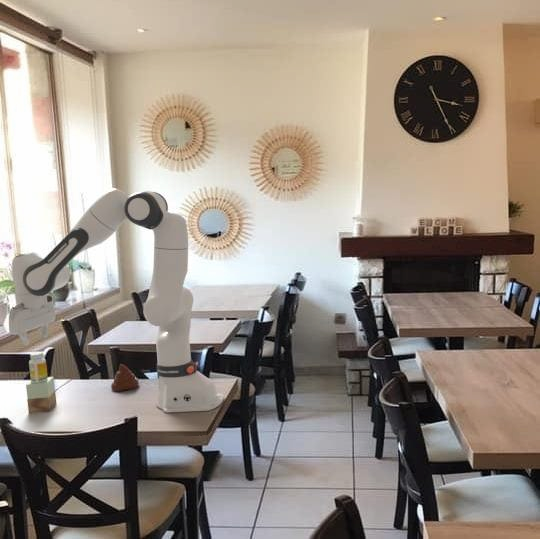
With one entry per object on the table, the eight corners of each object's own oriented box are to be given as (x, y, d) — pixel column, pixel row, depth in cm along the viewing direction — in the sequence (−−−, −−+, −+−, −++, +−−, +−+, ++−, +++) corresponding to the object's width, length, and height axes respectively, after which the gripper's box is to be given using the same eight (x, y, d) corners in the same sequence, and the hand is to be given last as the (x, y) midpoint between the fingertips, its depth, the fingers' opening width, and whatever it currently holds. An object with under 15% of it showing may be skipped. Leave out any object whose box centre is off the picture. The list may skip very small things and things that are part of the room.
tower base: (56, 404, 202) (55, 390, 201) (49, 411, 195) (48, 397, 194) (36, 406, 202) (34, 392, 201) (28, 413, 195) (27, 399, 194)
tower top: (54, 390, 201) (53, 376, 201) (48, 397, 194) (47, 382, 194) (34, 392, 201) (32, 378, 200) (27, 399, 194) (25, 384, 193)
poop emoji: (113, 393, 209) (110, 368, 208) (109, 387, 217) (107, 363, 216) (140, 388, 213) (138, 364, 212) (136, 382, 221) (134, 358, 220)
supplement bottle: (29, 384, 194) (25, 356, 193) (33, 379, 199) (30, 352, 198) (45, 382, 194) (42, 354, 193) (49, 377, 200) (46, 350, 199)
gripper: (18, 306, 183) (23, 349, 184) (56, 295, 202) (61, 333, 204) (1, 307, 184) (6, 349, 186) (40, 296, 204) (45, 334, 205)
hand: (35, 341), depth 195 cm, fingers open, 8 cm apart
